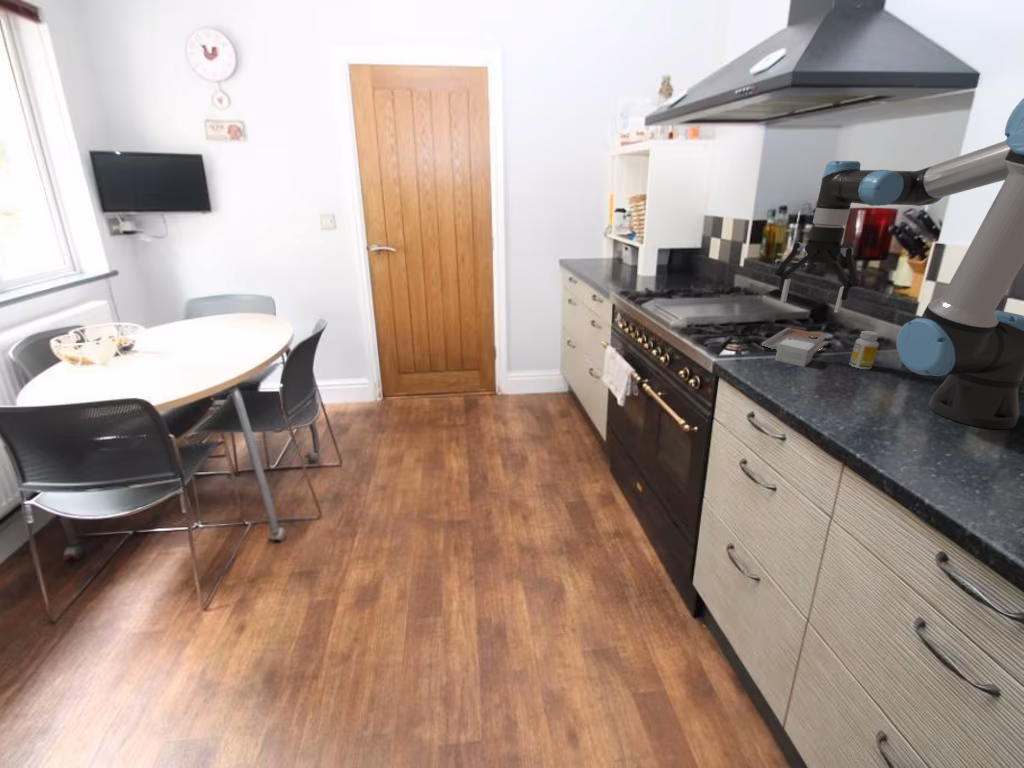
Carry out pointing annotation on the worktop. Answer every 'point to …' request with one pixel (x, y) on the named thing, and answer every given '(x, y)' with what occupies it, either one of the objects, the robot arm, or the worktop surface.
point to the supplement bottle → (864, 350)
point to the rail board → (795, 338)
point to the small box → (795, 352)
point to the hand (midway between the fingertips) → (809, 306)
